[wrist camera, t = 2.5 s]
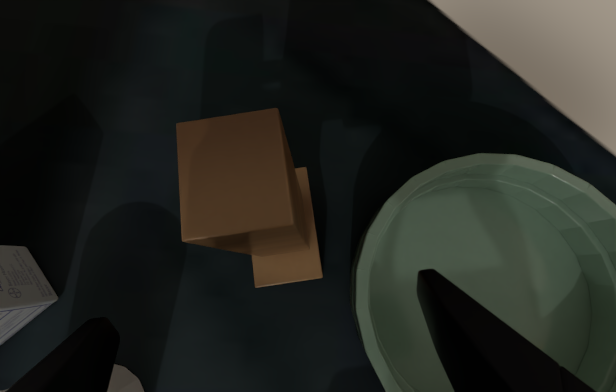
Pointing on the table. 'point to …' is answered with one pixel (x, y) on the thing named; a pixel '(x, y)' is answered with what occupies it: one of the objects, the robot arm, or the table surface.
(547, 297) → the bowl
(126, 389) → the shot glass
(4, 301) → the medicine box
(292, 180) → the brown stepped block
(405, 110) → the table surface
